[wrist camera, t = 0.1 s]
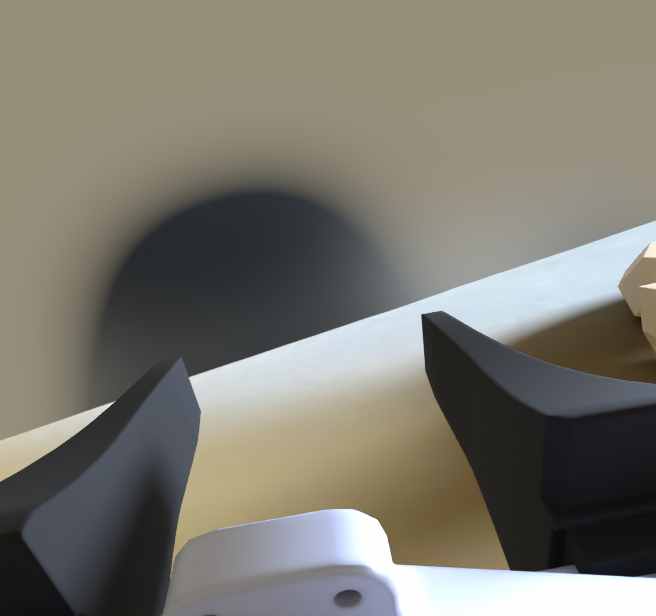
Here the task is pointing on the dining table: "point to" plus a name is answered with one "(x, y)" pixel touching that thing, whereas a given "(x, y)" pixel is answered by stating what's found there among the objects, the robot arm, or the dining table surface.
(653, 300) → the campfire
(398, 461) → the dining table surface
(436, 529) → the dining table surface
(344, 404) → the dining table surface
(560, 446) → the robot arm
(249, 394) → the dining table surface
